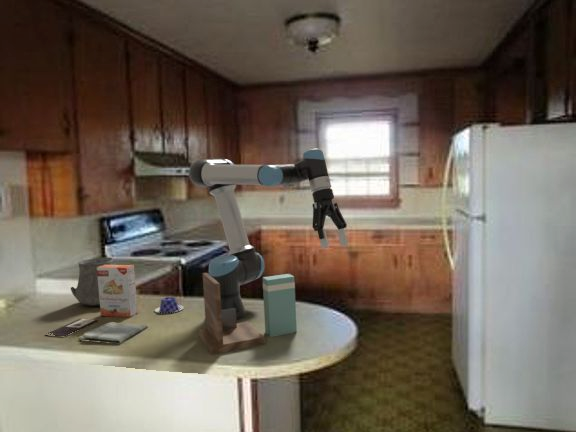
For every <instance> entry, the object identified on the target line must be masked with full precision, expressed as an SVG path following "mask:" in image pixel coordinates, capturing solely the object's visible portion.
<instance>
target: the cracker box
mask: <svg viewBox="0 0 576 432" xmlns="http://www.w3.org/2000/svg"><path fill="white" fill-rule="evenodd" d="M97 276H98V288H99V300H100V305H99V307H100V309H99V310H100V316H101V317H112V318H113V317H117V318H131V317H133V316H135V315H137V314H138V313H139V312H138V299H137V286H136V285H137V284H136V273H135V264H112V265H103V266H99V267H97Z"/></svg>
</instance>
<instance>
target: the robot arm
mask: <svg viewBox="0 0 576 432" xmlns="http://www.w3.org/2000/svg"><path fill="white" fill-rule="evenodd" d="M323 152H324V151H323V150H322V149H320V148H312V149H308V150H306V151H304V152H303V154H302V158H303V159H302V160H300V161H297V162H295V163H289V164H235V163H234V162H232V161H231V160H229V159H226V158H200V159H197V160H195V161H194V162H192V164H191V165H190V167H189V170H188V177H189V180H190V182H191V183H192V184H193V185H195V186H196V187H199V188H207V189H208V192H209V195H212V196H213V197H214V200H215V204H216V207H217V210H218V213H219V218H220V221H221V224H222V227H223V231H224V234H225V238H226V241H227V245H228V248H229V252H228V253H227V255H223V256H221V255H220V256H216V257H215V258H212V259H211V260H210V261H209V264H208V274H209V275H210V276H211V277H213V278H214V279H215V280H216V281H217V282H218V283H220V298H221V310H225V309H231V308H236V320H238V319H242V318H244V316H246V308H245V305H244V303H243V300H242V297H241V293H240V292H241V291H240V286H242V285H245V284H248V283H250V282H254V281H256V280H257V279H259V278H260V277H262V275H263V273H264V271H265V261H264V258H263V256H262V255H261V254H260V253H259V252H256V249H255V247H254V246H253V245H251V244H250V241H249V238H248V234H247V231H246V229H245V228H246V227H245V224H244V220H243V218H242V214H241V211H240V207H239V204H238V200H237V197H236V195H235V189H236V187H237V185H240V186H241V185H244V186H247V185H248V186H265V187H269V188H270V187H271V188H272V187H278V186H283V187H284V188H289V187H292V186H293V187H294V186H295V185H297V184H299V183H303V182H304V181H308V182H309V187H310V191H311V192H312V199H313V202H314V203H312V225H311V226H312V229H313V230H314V232H317V234H318V238H319V242H320V247H321V250H324V249H328V248H330V244H329V240H328V235H327V232H326V228H324V227H325V222H326V217H328V218H330V220H331V221H332V222H333V224H334V225H335V226H336V228H337V230H336V231H337V235H338V239H339V245H340V247H341V248H344V247H347V246H349V243H348V242H349V241H348V239H347V235H346V230H345V229H346V228H348V227H347V222H346V220H345V218H344V216H343V215H342V213H341V210H340V209H339V205H338V203H337V202H334V203H333V202H332V201H333V200H334V198H335V195H334V192H333V189H332V184H331V178H330V175H329V171H328V168H327V162H326V158H325V155H324V153H323Z"/></svg>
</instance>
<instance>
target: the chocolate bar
mask: <svg viewBox="0 0 576 432" xmlns="http://www.w3.org/2000/svg"><path fill="white" fill-rule="evenodd" d="M98 322H99V320H98V319H88V318H86V319H85V318H79V319H76V320H74V321H71V322H69V323H68V324H64V325H62V326H61V327H58V328H56V329H53V330H52V331H49V332H47V333H48V334H49V333H51V334H52V333H53V335H55V336H66V335H68V334H70V333H72V332H75V331H77V330H79V331H81V330H83V329H85V328H88V327H89V326H92V325H94V324H96V323H98ZM87 326H88V327H87ZM82 328H83V329H82ZM80 329H81V330H80ZM77 332H78V331H77ZM75 333H76V332H75ZM51 334H50V335H51ZM68 336H69V335H68ZM66 337H67V336H66Z"/></svg>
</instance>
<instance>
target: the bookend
mask: <svg viewBox="0 0 576 432" xmlns="http://www.w3.org/2000/svg"><path fill="white" fill-rule="evenodd" d="M221 315H222V330H226V329H231V328H237V323H238V322H237V319H236V308H231V309H225V310H221Z"/></svg>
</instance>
